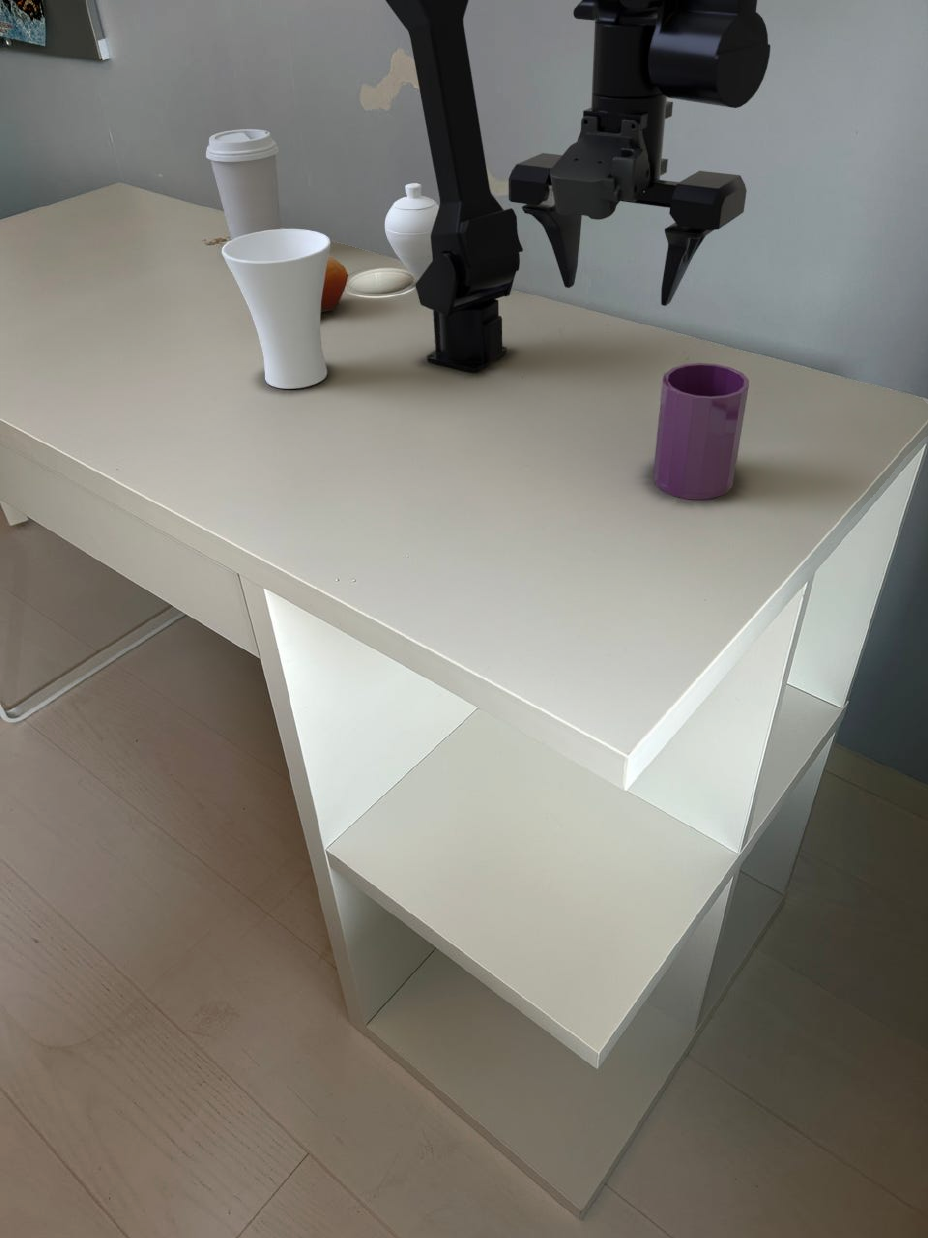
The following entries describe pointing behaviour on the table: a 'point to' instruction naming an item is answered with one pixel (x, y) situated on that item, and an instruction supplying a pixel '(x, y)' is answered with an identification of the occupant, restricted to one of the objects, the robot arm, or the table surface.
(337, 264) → the fruit
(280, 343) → the cup
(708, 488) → the tumbler
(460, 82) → the robot arm
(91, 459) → the table surface
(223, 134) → the coffee cup
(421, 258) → the spinning top
